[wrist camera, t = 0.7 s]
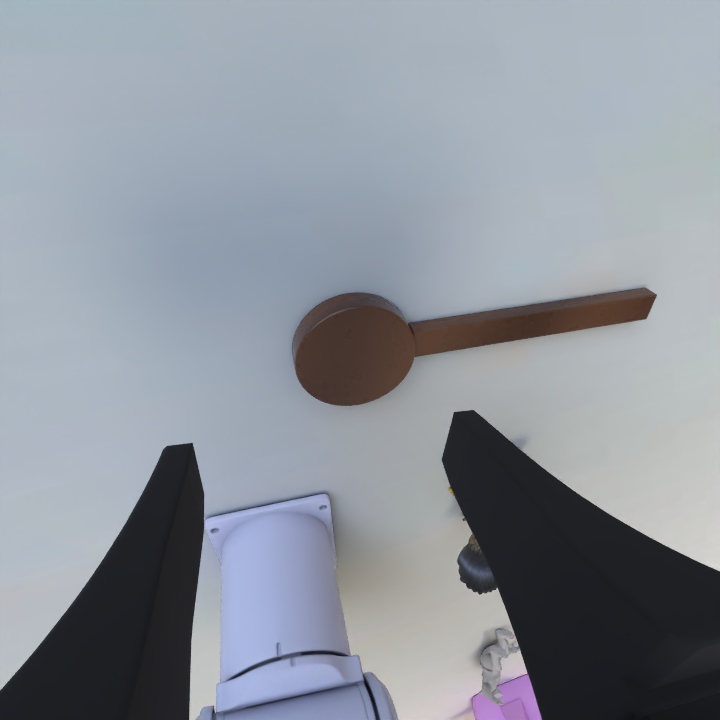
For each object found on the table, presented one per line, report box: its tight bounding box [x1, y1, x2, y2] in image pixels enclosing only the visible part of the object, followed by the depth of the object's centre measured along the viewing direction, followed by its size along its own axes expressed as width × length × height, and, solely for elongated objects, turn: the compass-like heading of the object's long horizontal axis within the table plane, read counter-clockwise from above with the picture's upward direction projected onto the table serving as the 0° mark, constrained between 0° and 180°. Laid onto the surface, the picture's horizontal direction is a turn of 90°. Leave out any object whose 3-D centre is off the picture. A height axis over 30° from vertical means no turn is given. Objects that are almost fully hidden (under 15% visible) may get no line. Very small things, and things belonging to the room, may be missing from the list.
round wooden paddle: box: [292, 288, 657, 406], centre depth 23 cm, size 20×6×1 cm, turn 91°
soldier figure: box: [479, 629, 520, 705], centre depth 55 cm, size 8×5×12 cm
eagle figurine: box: [449, 488, 498, 595], centre depth 31 cm, size 8×7×9 cm
